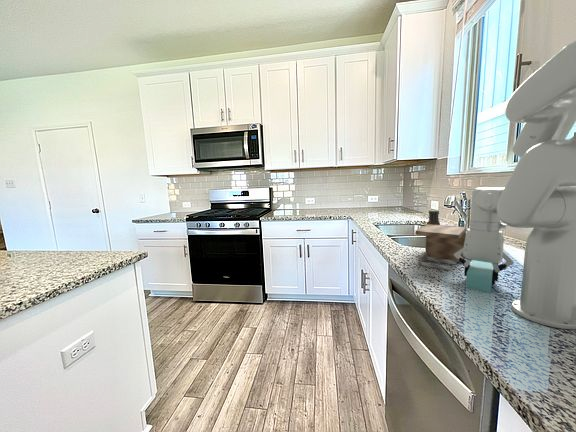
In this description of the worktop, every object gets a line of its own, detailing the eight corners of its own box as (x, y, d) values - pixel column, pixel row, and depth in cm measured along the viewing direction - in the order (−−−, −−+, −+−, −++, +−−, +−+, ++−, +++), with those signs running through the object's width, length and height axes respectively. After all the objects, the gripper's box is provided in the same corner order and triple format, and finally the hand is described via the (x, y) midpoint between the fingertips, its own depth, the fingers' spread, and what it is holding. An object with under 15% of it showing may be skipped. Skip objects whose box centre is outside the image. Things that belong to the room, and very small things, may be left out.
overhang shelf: (464, 261, 104) (466, 227, 102) (456, 274, 90) (458, 234, 88) (426, 255, 113) (427, 224, 111) (414, 267, 99) (415, 230, 97)
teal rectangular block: (471, 273, 91) (472, 259, 90) (493, 277, 87) (494, 263, 86) (465, 287, 79) (466, 272, 78) (490, 292, 75) (491, 276, 75)
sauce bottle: (442, 255, 114) (445, 211, 111) (427, 254, 115) (429, 211, 113) (437, 251, 120) (439, 209, 118) (422, 250, 122) (424, 209, 119)
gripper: (520, 227, 78) (515, 283, 80) (454, 222, 89) (451, 271, 91) (521, 231, 72) (515, 291, 75) (450, 225, 84) (447, 277, 86)
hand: (480, 279), depth 83 cm, fingers closed on teal rectangular block, 6 cm apart
